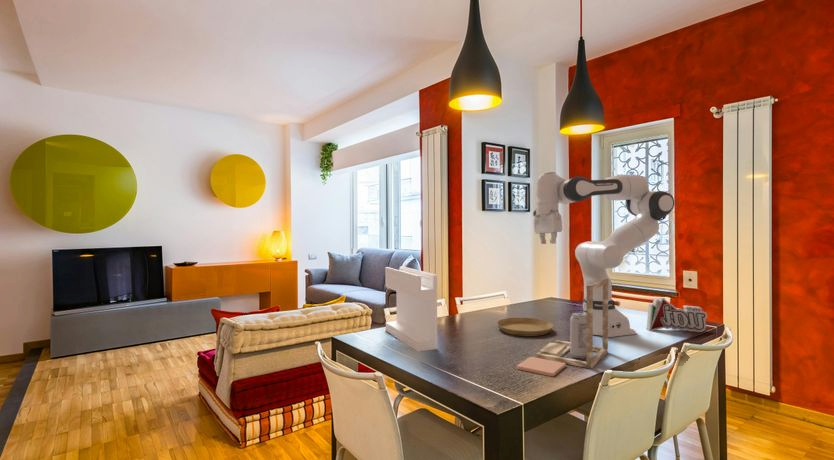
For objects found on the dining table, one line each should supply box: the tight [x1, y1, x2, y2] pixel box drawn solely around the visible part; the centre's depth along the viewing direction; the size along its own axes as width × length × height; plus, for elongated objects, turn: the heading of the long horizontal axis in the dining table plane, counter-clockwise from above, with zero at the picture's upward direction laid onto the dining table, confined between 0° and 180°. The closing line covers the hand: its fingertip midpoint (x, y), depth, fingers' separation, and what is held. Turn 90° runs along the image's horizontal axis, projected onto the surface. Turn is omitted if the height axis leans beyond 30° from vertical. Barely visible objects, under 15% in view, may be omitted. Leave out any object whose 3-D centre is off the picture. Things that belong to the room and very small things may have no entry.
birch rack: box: [535, 278, 609, 369], centre depth 156 cm, size 19×22×27 cm
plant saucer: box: [496, 317, 554, 337], centre depth 192 cm, size 24×24×3 cm
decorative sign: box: [646, 296, 708, 333], centre depth 191 cm, size 23×3×15 cm, turn 84°
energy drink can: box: [569, 312, 587, 359], centre depth 155 cm, size 6×6×15 cm
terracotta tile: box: [515, 356, 567, 377], centre depth 143 cm, size 12×12×1 cm
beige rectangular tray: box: [538, 342, 570, 357], centre depth 160 cm, size 7×15×2 cm, turn 143°
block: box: [384, 265, 438, 352], centre depth 179 cm, size 35×8×28 cm, turn 24°
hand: (548, 243), depth 183 cm, fingers open, 8 cm apart
